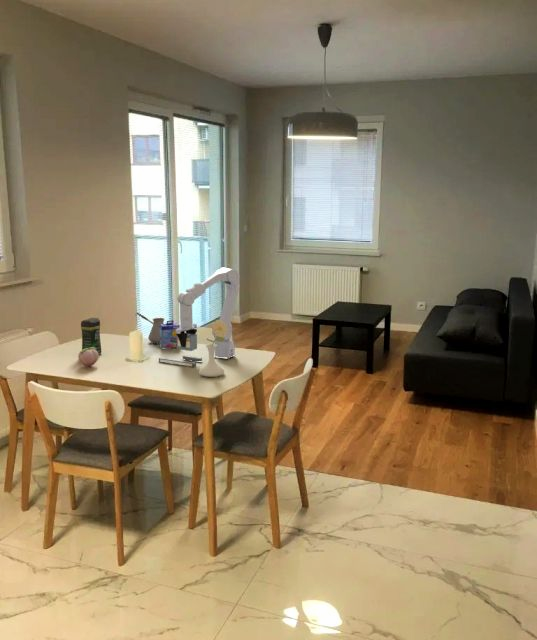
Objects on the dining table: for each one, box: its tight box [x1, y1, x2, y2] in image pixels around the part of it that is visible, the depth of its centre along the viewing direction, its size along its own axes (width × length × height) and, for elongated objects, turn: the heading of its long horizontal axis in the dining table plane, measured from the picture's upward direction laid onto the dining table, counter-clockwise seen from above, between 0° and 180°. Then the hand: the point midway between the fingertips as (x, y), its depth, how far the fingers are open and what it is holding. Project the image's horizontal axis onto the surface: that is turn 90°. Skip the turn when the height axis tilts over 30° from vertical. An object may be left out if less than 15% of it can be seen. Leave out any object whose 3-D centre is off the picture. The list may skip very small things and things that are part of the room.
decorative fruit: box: [77, 347, 100, 368], centre depth 284 cm, size 9×8×10 cm
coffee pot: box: [134, 312, 166, 344], centre depth 333 cm, size 21×12×15 cm, turn 61°
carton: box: [176, 333, 198, 352], centre depth 291 cm, size 5×8×7 cm, turn 63°
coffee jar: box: [80, 317, 102, 355], centre depth 304 cm, size 10×8×19 cm
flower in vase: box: [198, 319, 228, 378], centre depth 272 cm, size 13×11×25 cm
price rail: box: [158, 354, 203, 368], centre depth 294 cm, size 20×10×2 cm, turn 64°
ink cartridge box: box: [159, 320, 180, 349], centre depth 321 cm, size 10×6×14 cm, turn 115°
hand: (186, 345), depth 291 cm, fingers closed on carton, 5 cm apart
